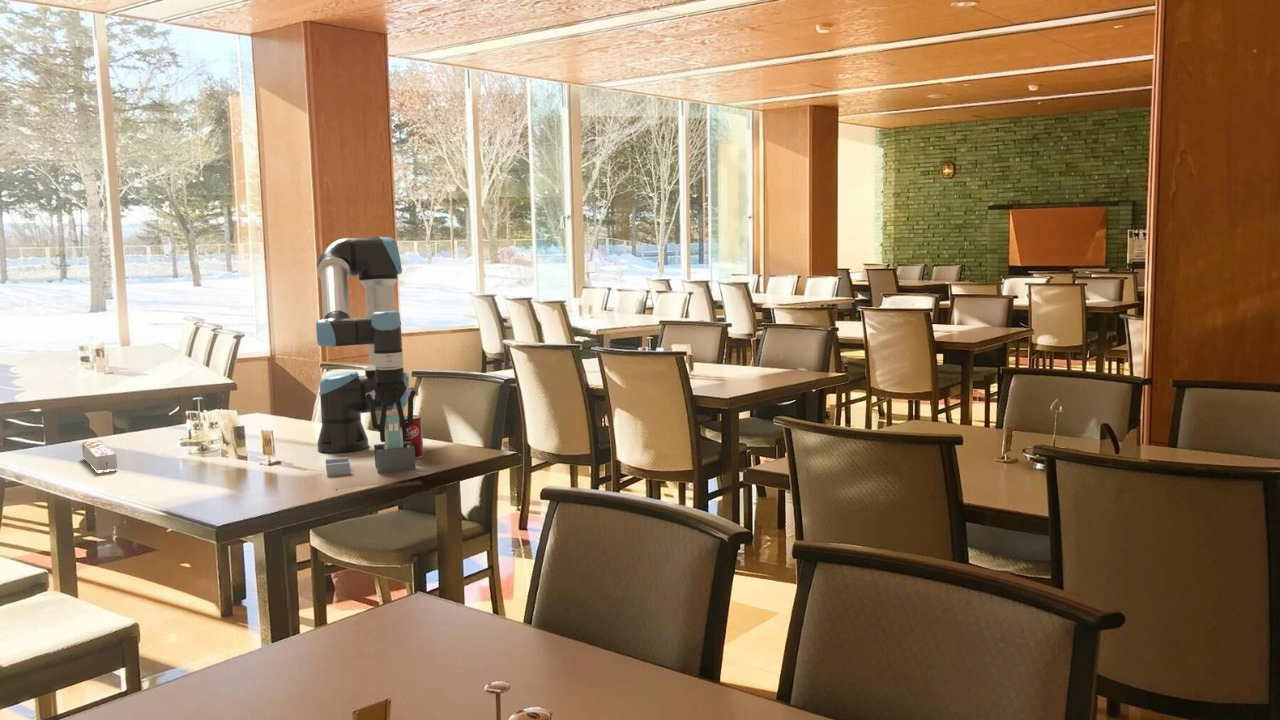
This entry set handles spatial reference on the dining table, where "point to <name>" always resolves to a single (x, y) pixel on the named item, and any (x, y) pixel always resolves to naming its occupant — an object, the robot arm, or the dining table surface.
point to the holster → (337, 466)
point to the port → (394, 458)
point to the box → (99, 455)
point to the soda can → (415, 435)
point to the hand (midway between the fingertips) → (394, 452)
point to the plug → (393, 431)
